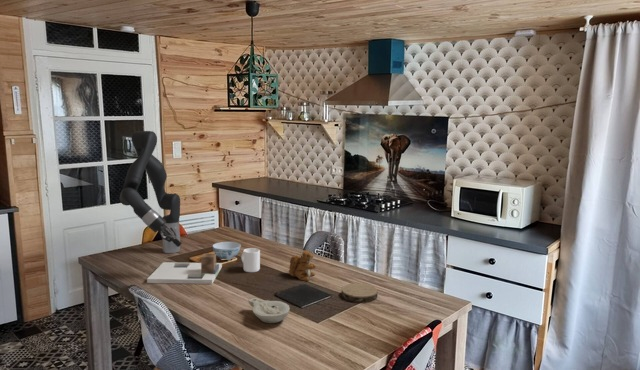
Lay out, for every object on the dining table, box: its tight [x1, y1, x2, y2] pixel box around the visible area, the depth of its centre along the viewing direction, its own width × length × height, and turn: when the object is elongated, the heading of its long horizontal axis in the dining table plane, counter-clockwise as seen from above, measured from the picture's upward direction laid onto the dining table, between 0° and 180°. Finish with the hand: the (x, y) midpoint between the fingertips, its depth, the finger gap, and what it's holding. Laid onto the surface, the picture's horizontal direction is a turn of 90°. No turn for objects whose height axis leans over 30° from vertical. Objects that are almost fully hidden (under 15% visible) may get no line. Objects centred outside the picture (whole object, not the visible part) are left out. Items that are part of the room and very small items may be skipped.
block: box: [200, 253, 217, 273], centre depth 233 cm, size 6×6×8 cm
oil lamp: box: [248, 297, 290, 324], centre depth 187 cm, size 21×14×5 cm
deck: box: [146, 261, 223, 285], centre depth 234 cm, size 30×25×4 cm
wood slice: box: [341, 282, 379, 304], centre depth 212 cm, size 16×16×3 cm
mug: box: [240, 247, 261, 273], centre depth 244 cm, size 12×8×10 cm
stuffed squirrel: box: [288, 250, 317, 282], centre depth 234 cm, size 10×14×13 cm
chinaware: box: [212, 241, 242, 261], centre depth 259 cm, size 15×15×8 cm
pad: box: [201, 269, 220, 279], centre depth 234 cm, size 7×9×2 cm
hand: (180, 245), depth 232 cm, fingers closed
